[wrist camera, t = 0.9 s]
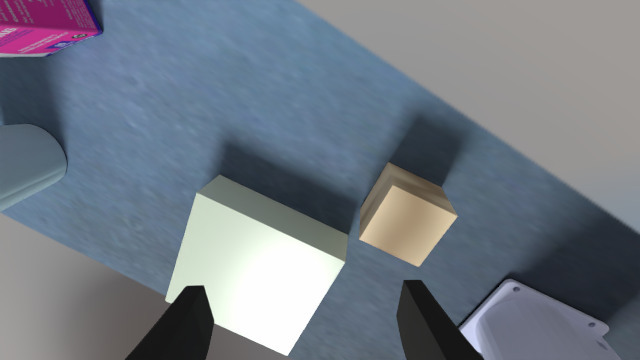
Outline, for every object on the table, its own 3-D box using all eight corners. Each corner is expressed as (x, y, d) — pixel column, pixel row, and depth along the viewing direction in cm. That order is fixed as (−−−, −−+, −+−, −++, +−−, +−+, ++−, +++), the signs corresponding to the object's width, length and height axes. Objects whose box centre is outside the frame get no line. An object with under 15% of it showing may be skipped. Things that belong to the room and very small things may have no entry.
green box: (348, 232, 25) (345, 261, 22) (296, 320, 30) (287, 356, 27) (221, 172, 25) (196, 192, 21) (189, 271, 30) (165, 300, 26)
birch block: (441, 186, 22) (457, 216, 18) (409, 231, 24) (418, 267, 20) (388, 161, 22) (392, 185, 18) (360, 208, 24) (359, 239, 20)
